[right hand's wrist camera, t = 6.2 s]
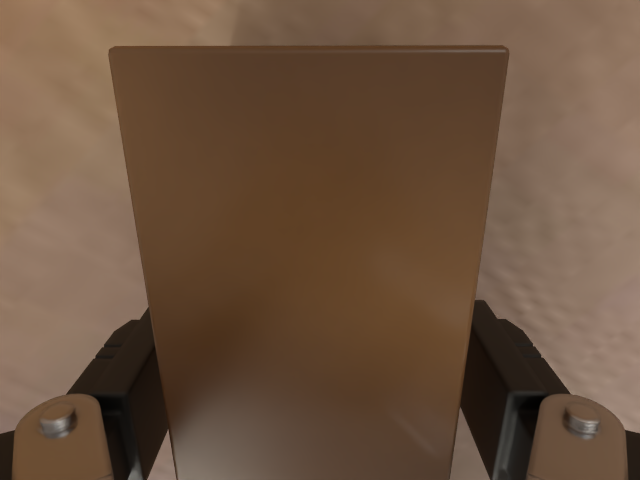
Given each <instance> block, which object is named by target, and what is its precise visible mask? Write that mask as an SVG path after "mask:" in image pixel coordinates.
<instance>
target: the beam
mask: <svg viewBox="0 0 640 480" xmlns="http://www.w3.org/2000/svg"><path fill="white" fill-rule="evenodd" d="M108 55H109V62H110V68H111V74H112V80H113V87H114V93H115V99H116V105H117V111H118V118H119V124H120V130H121V136H122V143H123V149H124V155H125V161H126V167H127V174H128V180H129V186H130V192H131V199H132V205H133V211H134V217H135V223H136V230H137V236H138V242H139V248H140V255H141V261H142V267H143V273H144V279H145V286H146V292H147V298H148V304H149V311H150V317H151V323H152V329H153V335H154V342H155V348H156V354H157V360H158V367H159V373H160V379H161V385H162V391H163V398H164V404H165V410H166V416H167V423H168V429H169V435H170V441H171V447H172V454H173V460H174V466H175V472H176V479H177V480H450V473H451V466H452V459H453V452H454V445H455V437H456V430H457V423H458V416H459V409H460V402H461V395H462V388H463V380H464V373H465V366H466V359H467V352H468V345H469V338H470V331H471V323H472V316H473V309H474V302H475V295H476V288H477V281H478V273H479V266H480V259H481V252H482V245H483V238H484V231H485V224H486V216H487V209H488V202H489V195H490V188H491V181H492V174H493V167H494V159H495V152H496V145H497V138H498V131H499V124H500V117H501V110H502V102H503V95H504V88H505V81H506V74H507V67H508V60H509V50H508V48H507V47H505V46H503V45H462V46H115V47H113V48H111V49H109V54H108Z"/></svg>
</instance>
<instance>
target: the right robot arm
mask: <svg viewBox="0 0 640 480" xmlns="http://www.w3.org/2000/svg"><path fill="white" fill-rule="evenodd" d="M460 407H461V409H462V412H463V414H464V416H465V419H466V421H467V424H468V426H469V429H470V431H471V434H472V436H473V438H474V441H475V443H476V446H477V448H478V451H479V453H480V456H481V458H482V460H483V463H484V465H485V468H486V470H487V473H488V475H489V478H490V480H640V433H636V432H631V431H627V430H625V429H624V427H623V425H622V423H621V422H620V420H619V419H618V418H617V417H616V416H615V415H614V414H613V413H612V412H610V411H609V410H608V409H606V408H605V407H603V406H602V405H600V404H598V403H596V402H594V401H592V400H590V399H587V398H584V397H581V396H577V395H572V394H570V392H569V391H568V390H567V388H566V387H565V386H564V384H563V383H562V382H561V380H560V379H559V378H558V376H557V375H556V374H555V372H554V371H553V370H552V369H551V367H550V366H549V365H548V363H547V362H546V361H545V359H544V358H541V354H540V353H539V351H538V350H537V349H536V347H533V343H532V342H531V341H530V339H529V338H528V337H527V336H526V334H525V333H524V332H523V330H521V329H520V328H518V327H517V326H515V325H514V324H512V323H511V322H509V321H508V320H506V319H497V318H496V316H495V315H494V313H493V312H492V310H491V309H490V308H489V306H488V305H487V303H486V302H485V301H484V300H475V302H474V309H473V316H472V323H471V331H470V338H469V345H468V352H467V359H466V366H465V373H464V380H463V388H462V395H461V402H460ZM167 430H168V423H167V416H166V410H165V404H164V398H163V391H162V385H161V379H160V373H159V367H158V360H157V354H156V348H155V342H154V335H153V329H152V323H151V317H150V311H149V307H148V309H147V310H146V312H145V313H144V314H143V316H142V317H141V319H140V320H131V321H129V322H128V323H126V324H125V325H123V326H122V327H120V328H119V329H117V330H116V331H114V333H113V334H112V335H111V336H110V338H109V339H108V340H107V342H106V343H105V344H104V347H102V348H101V350H100V351H99V352H98V353H97V355H96V358H95V359H93V360H92V361H91V363H90V364H89V365H88V367H87V368H86V369H85V370H84V372H83V373H82V374H81V376H80V377H79V378H78V380H77V381H76V382H75V383H74V385H73V386H72V387H71V389H70V390H69V391H68V393H67V394H66V395H63V396H59V397H56V398H53V399H50V400H48V401H46V402H44V403H42V404H40V405H38V406H37V407H35V408H34V409H32V410H31V411H30V412H28V413H27V414H26V415H25V416H24V417H23V418H22V419H21V420H20V422H19V423H18V425H17V427H16V429H15V430H14V431H10V432H6V433H2V434H0V480H147V478H148V476H149V474H150V471H151V469H152V466H153V464H154V462H155V459H156V457H157V454H158V452H159V450H160V447H161V445H162V442H163V440H164V438H165V435H166V433H167Z"/></svg>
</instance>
